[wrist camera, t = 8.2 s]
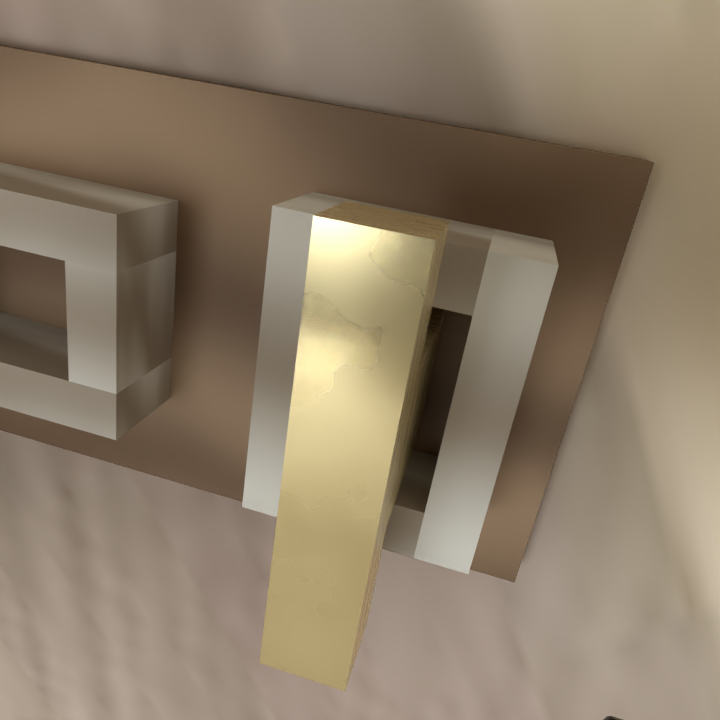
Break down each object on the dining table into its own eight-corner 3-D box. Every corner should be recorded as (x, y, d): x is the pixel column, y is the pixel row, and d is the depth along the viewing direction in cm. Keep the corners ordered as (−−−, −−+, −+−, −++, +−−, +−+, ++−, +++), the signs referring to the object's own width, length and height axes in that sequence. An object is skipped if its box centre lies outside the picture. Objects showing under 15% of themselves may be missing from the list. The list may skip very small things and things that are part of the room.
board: (514, 561, 21) (512, 655, 17) (-45, 398, 24) (-144, 447, 21) (646, 160, 16) (683, 172, 12) (-87, 29, 19) (-229, 8, 16)
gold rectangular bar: (471, 192, 16) (435, 240, 10) (402, 508, 20) (345, 691, 13) (396, 178, 16) (313, 215, 10) (343, 492, 20) (259, 662, 14)
